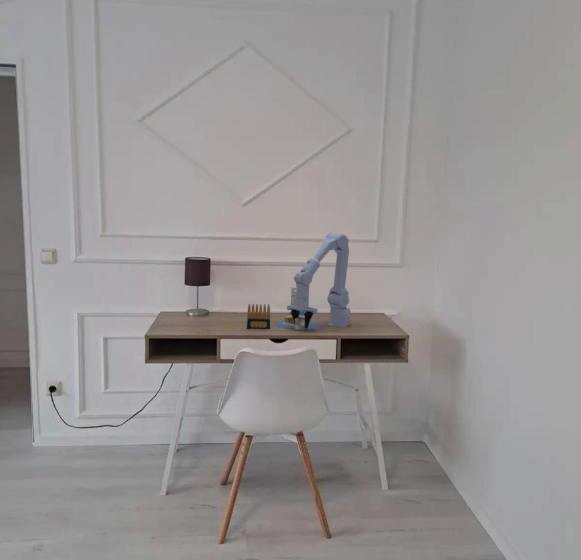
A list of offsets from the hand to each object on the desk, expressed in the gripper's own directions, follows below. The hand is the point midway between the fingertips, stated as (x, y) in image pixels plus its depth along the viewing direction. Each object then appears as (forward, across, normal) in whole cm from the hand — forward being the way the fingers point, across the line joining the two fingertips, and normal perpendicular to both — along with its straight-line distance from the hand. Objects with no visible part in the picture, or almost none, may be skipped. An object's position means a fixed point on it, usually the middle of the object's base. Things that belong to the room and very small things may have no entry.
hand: (301, 327), depth 238 cm
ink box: (+2, -15, +28) cm, 32 cm away
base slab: (+1, -8, +10) cm, 13 cm away
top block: (+1, 0, 0) cm, 1 cm away
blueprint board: (+1, -5, +6) cm, 8 cm away
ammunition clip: (+2, -17, -10) cm, 20 cm away
